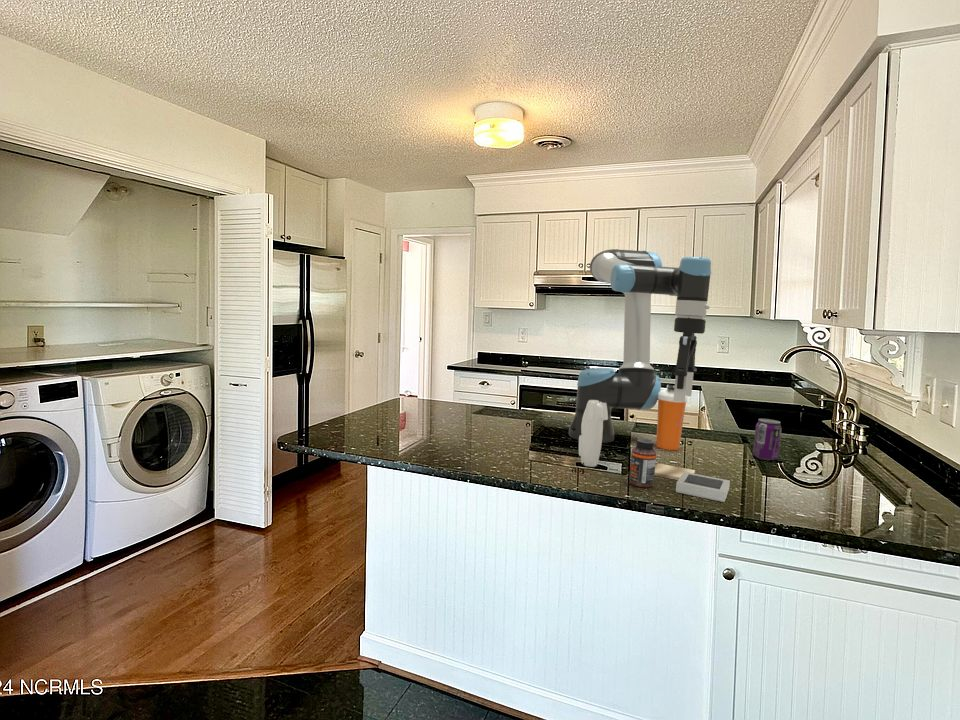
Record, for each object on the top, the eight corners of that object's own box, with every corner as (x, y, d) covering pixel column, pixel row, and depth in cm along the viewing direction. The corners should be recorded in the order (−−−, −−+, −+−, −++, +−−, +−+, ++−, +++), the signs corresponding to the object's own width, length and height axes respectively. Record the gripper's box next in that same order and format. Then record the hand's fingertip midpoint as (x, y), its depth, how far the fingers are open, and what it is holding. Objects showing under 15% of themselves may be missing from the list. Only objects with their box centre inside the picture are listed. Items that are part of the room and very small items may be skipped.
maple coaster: (649, 474, 149) (650, 471, 149) (657, 466, 158) (657, 463, 158) (689, 482, 144) (689, 479, 144) (694, 473, 153) (695, 470, 153)
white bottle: (607, 468, 153) (592, 460, 160) (613, 403, 151) (597, 398, 158) (586, 469, 151) (572, 461, 157) (592, 403, 149) (577, 398, 155)
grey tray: (675, 492, 136) (676, 482, 136) (683, 480, 146) (684, 471, 145) (724, 502, 131) (725, 492, 130) (729, 489, 140) (730, 480, 140)
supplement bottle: (623, 481, 142) (627, 437, 141) (643, 479, 144) (647, 437, 143) (638, 488, 137) (642, 443, 135) (658, 487, 139) (662, 443, 138)
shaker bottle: (654, 448, 177) (659, 386, 175) (652, 442, 186) (658, 383, 184) (683, 452, 175) (689, 389, 173) (680, 445, 184) (686, 385, 182)
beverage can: (780, 462, 170) (785, 424, 169) (756, 460, 171) (760, 421, 170) (773, 456, 177) (778, 419, 176) (749, 454, 178) (753, 417, 177)
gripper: (701, 318, 132) (692, 406, 134) (710, 318, 154) (702, 394, 156) (668, 316, 135) (660, 402, 137) (681, 317, 157) (674, 391, 159)
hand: (682, 398), depth 146 cm, fingers open, 13 cm apart
